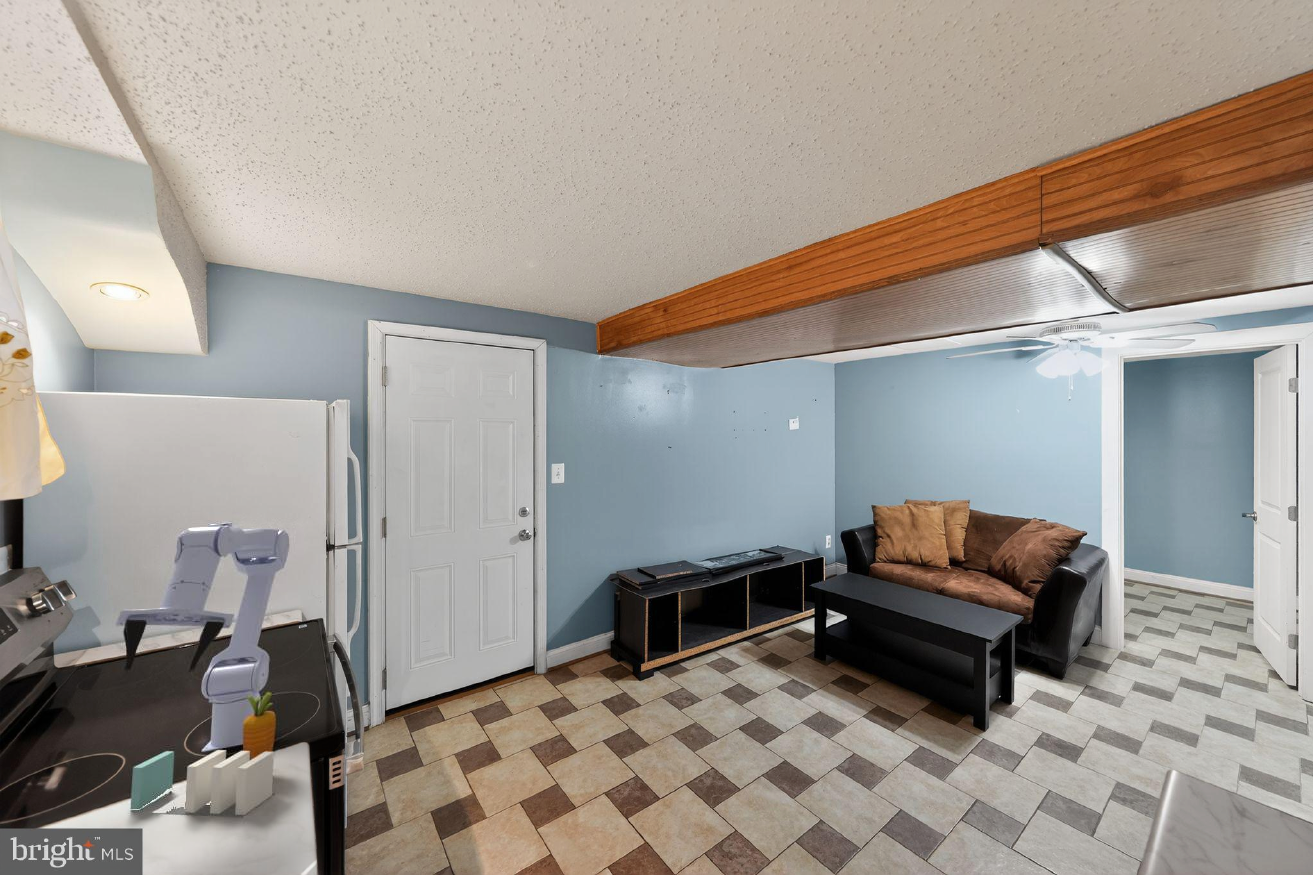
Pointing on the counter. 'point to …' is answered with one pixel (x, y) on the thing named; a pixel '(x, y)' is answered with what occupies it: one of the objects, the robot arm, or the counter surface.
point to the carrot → (259, 728)
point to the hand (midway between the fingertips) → (160, 670)
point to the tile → (151, 779)
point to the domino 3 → (254, 782)
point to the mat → (206, 811)
